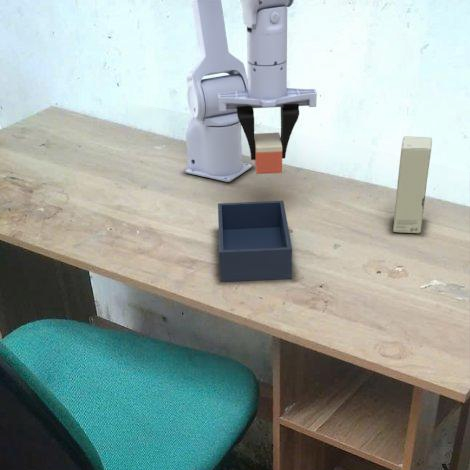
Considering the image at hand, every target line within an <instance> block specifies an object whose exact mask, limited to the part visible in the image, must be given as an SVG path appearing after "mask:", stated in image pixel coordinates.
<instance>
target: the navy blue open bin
mask: <svg viewBox="0 0 470 470" xmlns="http://www.w3.org/2000/svg"><path fill="white" fill-rule="evenodd" d="M217 218H218V219H217V221H218V222H217V224H218V249H219V251H218V252H219V269H220V270H219V272H220V273H219V274H220V282H221V283H227V282H228V283H229V282H247V281H250V282H251V281H270V280H271V281H272V280H291V279H292V273H293V272H292V270H293V269H292V265H293V264H292V263H293V247H292V242H291V236H290V230H289V223H288V218H287V212H286V206H285V201H284V200H265V201H264V200H263V201H244V202H242V201H241V202H225V203H224V202H221V203H220V202H219V203H217Z"/></svg>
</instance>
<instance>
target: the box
mask: <svg viewBox="0 0 470 470" xmlns="http://www.w3.org/2000/svg"><path fill="white" fill-rule="evenodd" d="M432 147H433V138H432V137H431V136H412V135H411V136H410V135H408V136H407V135H406V136H402V142H401V149H400V157H399V167H398V174H397V177H398V178H397V186H396V194H395V205H394V217H393V226H392V227H393V228H392V232H393V233H400V234H401V233H402V234H403V233H404V234H406V233H407V234H421V232H422V231H421V230H422V225H423V218H424V216H423V215H424V209H425V202H426V193H427V186H428V185H427V184H428V177H429V169H430V161H431V154H432Z"/></svg>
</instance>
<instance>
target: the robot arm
mask: <svg viewBox="0 0 470 470" xmlns="http://www.w3.org/2000/svg"><path fill="white" fill-rule="evenodd" d="M294 1H295V0H240V4H241V11H242V20H243V24H244V26H246V56H247V57H246V59H247V63H246V64H247V71H246V66H245V64H244V62H243V61H241V60H240V59H239V58H237V57H236V56H235V55H234V54H232V53H231V52H230V50H229V45H228V39H227V31H226V25H225V24H226V23H225V16H224V11H223V2H222V0H190V4H191V11H192V17H193V23H194V28H195V29H194V30H195V36H196V42H197V48H198V54H199V55H198V57H197V60H195V61H194V63H193V64H192V65H191V67H189V69H188V71H187V73H186V88H187V89H186V90H187V91H186V98H187V105H188V109H189V111H190V114H191V115H190V116H191V118H190V119H189V121H188V123H187V125H186V131H185V143H186V158H187V159H186V160H187V169H185V173H186V174H190V175H194V176H199V177H204V178H208V179H212V180H216V181H220V182H225V183H231V182H232V181H233V180H235V179H236V178H238V177H239V176H241V175H243V174H244V173H246V172H247V171H248V170H250V169H251V168H252V167H253V166H252V164H251V163H249V162H248V163H247V162H243V145H242V144H243V143H242V142H243V141H242V140H243V139H242V131H243V132H244V135H245V138H246V140H247V143H248V147H249V153H250V160H251V161H255V160H256V155H255V141H254V134H255V115H254V114H255V111H254V109H268V108H269V109H270V108H280V138H281V143H282V160H284V159H286V155H287V150H288V145H289V141H290V138H291V135H292V133H293V131H294V128H295V126H296V123H297V121H298V120H299V117H300V107H305V106H306V107H309V108H317V96H318V95H317V90H316V89H315V88H295V87H288V86H287V85H288V83H287V82H288V79H287V77H288V8H291V6H292V5H293V4H294ZM219 74H226V75H219ZM212 75H219V76H213V77H209V78H204V77H207V76H212Z"/></svg>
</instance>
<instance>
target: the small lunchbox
mask: <svg viewBox="0 0 470 470" xmlns="http://www.w3.org/2000/svg"><path fill="white" fill-rule="evenodd" d="M280 137H281V133H280V132H263V133H262V132H261V133H254V141H255V155H256V160H254V166H255V173H256V175H264V174H265V175H266V174H282V173H283V159H282V143H281V138H280Z"/></svg>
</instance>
